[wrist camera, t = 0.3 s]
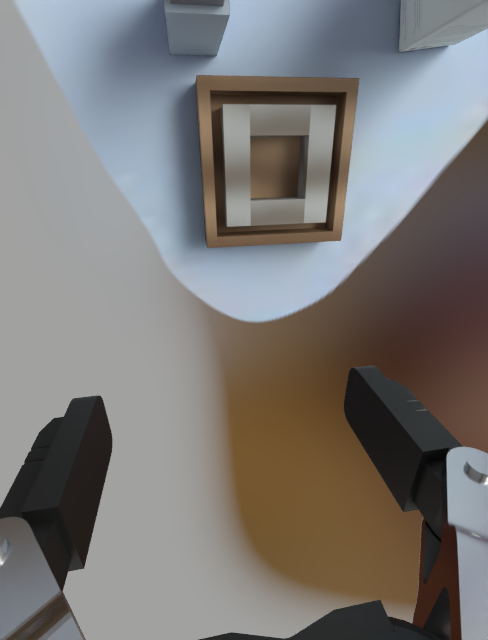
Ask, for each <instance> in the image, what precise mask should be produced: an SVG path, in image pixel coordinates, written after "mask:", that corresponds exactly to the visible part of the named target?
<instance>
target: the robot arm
mask: <svg viewBox="0 0 488 640" xmlns="http://www.w3.org/2000/svg"><path fill="white" fill-rule="evenodd" d="M344 412H345V416H346V419H347V421H348V423H349V425H350V426H351V428H352V430H353V431H354V433H355V435H356V436H357V438H358V439H359V441H360V443H361V444H362V446H363V447H364V449H365V451H366V452H367V454H368V456H369V457H370V458H371V460H372V462H373V464H374V465H375V467H376V469H377V470H378V472H379V474H380V475H381V477H382V478H383V480H384V482H385V483H386V485H387V486H388V488H389V490H390V491H391V493H392V494H393V496H394V498H395V499H396V501H397V503H398V504H399V506H400V507H401V509H402V510H403V512H407V511H412V510H418V509H419V511H420V512H421V514H422V515H423V517H424V518H423V520H422V524H421V545H420V564H419V585H418V596H417V602H416V606H415V611H414V616H413V623H409V622H407V621H404V620H400V619H397V618H393V617H388V616H387V614H386V612H385V610H384V608H383V605H382V603H381V601H380V600H377V601H372V602H368V603H363V604H359V605H354V606H350V607H345V608H341V609H336V610H333V611H332V612H330V613H329V614H327V615H325V616H324V617H322V618H321V619H319V620H317V621H316V622H314V623H313V624H311V625H310V626H308V627H307V628H305V629H303V630H302V631H300V632H299V633H297V634H296V635H294V636H292V637H290V638H286V639H281V638H273V637H265V636H257V635H248V634H239V633H227V634H222V635H218V636H213V637H209V638H205V639H200V640H488V454H487V453H485V452H483V451H480V450H477V449H474V448H469V447H463V446H462V445H461V444H460V443H459V442H458V441H457V440H456V439H455V438H454V437H453V436H452V435H451V434H450V433H449V431H448V430H446V428H444V426H443V425H442V424H441V423H440V422H439V421H438V420H437V419H436V418H435V417H434V416H433V415H432V414H431V413H430V412H429V411H426V408H425V407H424V405H423V404H422V403H421V402H419V401H418V400H417V398H416V397H415V396H414V395H413V394H412V393H411V392H410V391H409V390H408V389H407V388H406V387H404V386H403V385H401V384H399V383H398V382H396V381H394V380H393V379H387V378H386V377H385V376H384V375H383V374H382V373H381V372H380V370H379V369H378V368H377V367H375V366H366V367H357V368H351V369H350V371H349V374H348V381H347V387H346V393H345V400H344ZM111 453H112V433H111V429H110V425H109V422H108V418H107V414H106V410H105V406H104V403H103V400H102V397H101V396H91V397H82V398H74V399H72V401H71V402H70V404H69V407H68V409H67V411H66V413H65V416H64V417H60V418H54V419H53V420H52V421H51V422H49V423H48V424H47V425H46V427H44V428H43V429H42V430H41V431H40V432H39V434H38V436H37V438H36V440H35V442H34V444H33V446H32V448H31V451H30V452H29V453H28V456H27V457H26V459H25V464H24V465H22V467H21V469H20V471H19V473H18V475H17V477H16V479H15V481H14V483H13V485H12V486H11V488H10V490H9V492H8V494H7V496H6V498H5V500H4V502H3V504H2V506H1V508H0V640H86V639H85V637H84V635H83V633H82V631H81V629H80V627H79V625H78V623H77V620H76V618H75V616H74V614H73V612H72V610H71V608H70V606H69V604H68V602H67V600H66V598H65V595H64V593H63V587H64V584H65V580H66V577H67V573H68V571H73V570H78V569H84V566H85V562H86V558H87V554H88V550H89V545H90V541H91V537H92V533H93V528H94V524H95V520H96V516H97V512H98V508H99V503H100V499H101V495H102V491H103V486H104V483H105V478H106V474H107V470H108V465H109V462H110V457H111Z"/></svg>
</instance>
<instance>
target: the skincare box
mask: <svg viewBox="0 0 488 640" xmlns="http://www.w3.org/2000/svg"><path fill="white" fill-rule="evenodd" d="M487 28H488V0H401V11H400V40H399V51H400V52H404V51H411V50H419V49H426V48H433V47H440V46H447V45H454V44H457V43H459V42H461V41H463V40H465V39H467V38H469V37H471V36H473V35H475V34H477V33H479V32H481V31H483V30H485V29H487Z"/></svg>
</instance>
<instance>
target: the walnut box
mask: <svg viewBox="0 0 488 640" xmlns="http://www.w3.org/2000/svg"><path fill="white" fill-rule="evenodd" d="M195 84H196V99H197V114H198V129H199V145H200V160H201V175H202V190H203V206H204V221H205V236H206V244H207V247H208V248H213V247H232V246H250V245H269V244H287V243H306V242H324V241H341V235H342V227H343V218H344V209H345V200H346V191H347V182H348V173H349V164H350V156H351V147H352V138H353V129H354V120H355V111H356V102H357V93H358V84H359V78H314V77H262V76H211V75H197V76H196V83H195Z"/></svg>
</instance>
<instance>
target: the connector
mask: <svg viewBox="0 0 488 640" xmlns="http://www.w3.org/2000/svg"><path fill="white" fill-rule="evenodd" d="M164 9H165V18H166V26H167V34H168V42H169V50H170V54H175V55H211V56H217V53H218V50H219V47H220V44H221V41H222V38H223V35H224V31H225V28H226V25H227V22H228V19H229V16H230V7H229V0H164Z"/></svg>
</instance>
